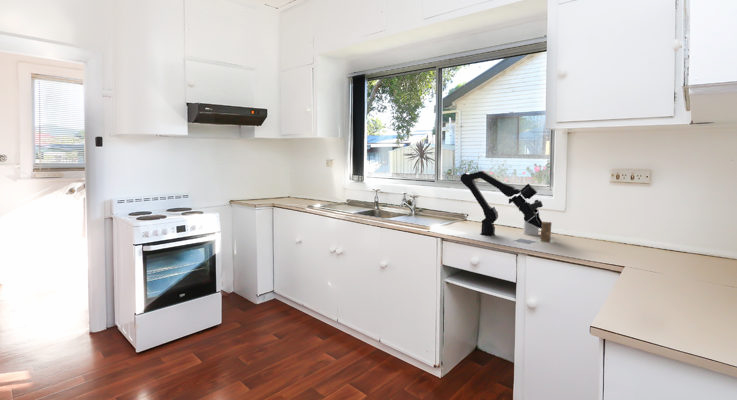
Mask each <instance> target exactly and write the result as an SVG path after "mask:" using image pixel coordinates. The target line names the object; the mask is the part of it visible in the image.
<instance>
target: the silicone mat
mask: <svg viewBox="0 0 737 400" xmlns="http://www.w3.org/2000/svg"><path fill="white" fill-rule="evenodd" d="M513 242H517V243H521V244H526V245H530V244H534V243H536V242H537V243H538V241H537V240H536V241H535V240H530V239H524V238H518V239H515V240H513Z"/></svg>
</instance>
